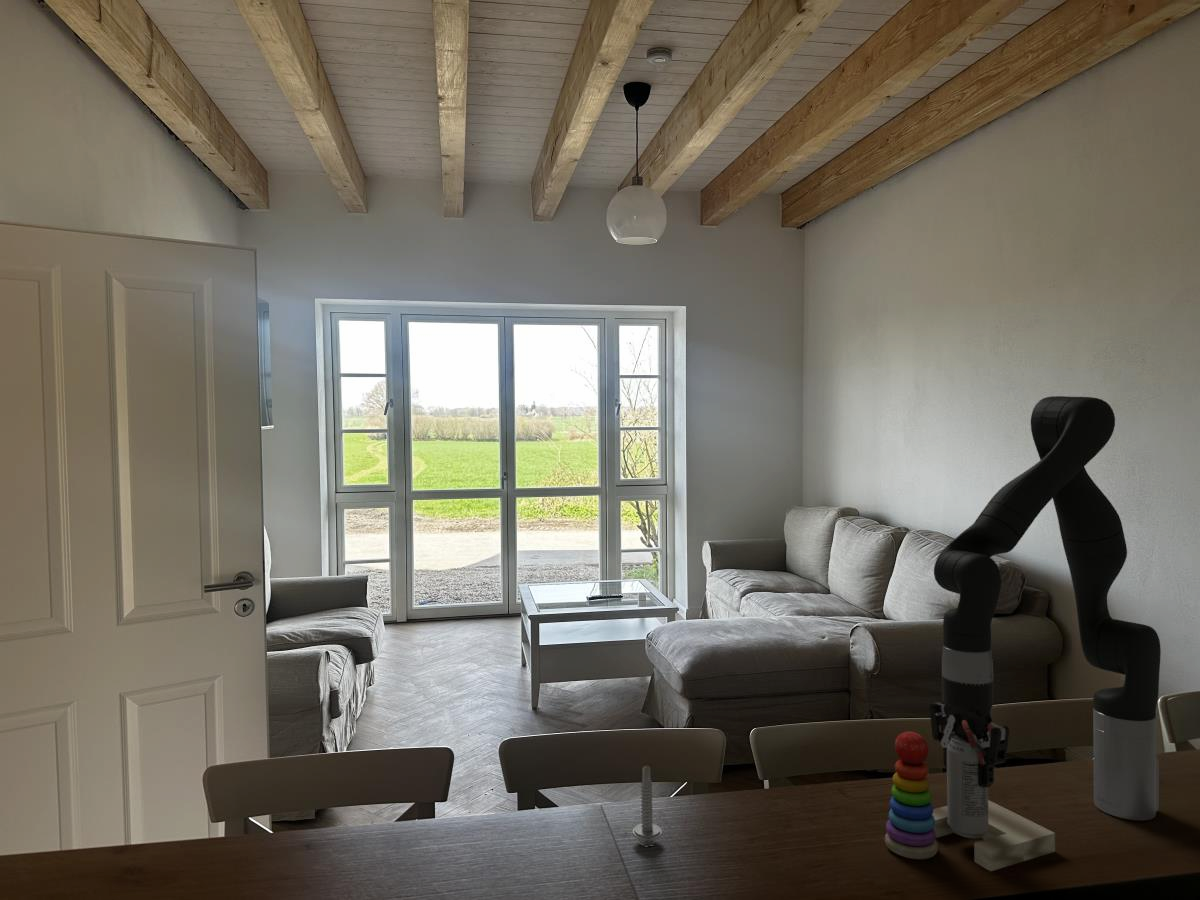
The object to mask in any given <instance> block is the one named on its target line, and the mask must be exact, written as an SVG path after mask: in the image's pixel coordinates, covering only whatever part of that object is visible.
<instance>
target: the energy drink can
mask: <svg viewBox="0 0 1200 900" xmlns="http://www.w3.org/2000/svg"><path fill="white" fill-rule="evenodd" d="M977 741H978V742H979V743H983V738H982V739H980V740H977ZM983 751H984V754H985V756H987V755H986V752H985V750H984V748H983ZM978 763H979V760H978V758H977V755H976V752H975V750H973V749H972V748H971V745H970V742H969V740H967V739H965V738H964V737H960V736H957V735H951V740H950V742H949V743H948V745H947V770H946V788H947V789H946V795H947V796H946V799H947V803H946V804H947V805H946V806H947V818H948V824H949V825H950V826H951V829H952V831H953V832H954V833H953V834H956V835H958V836H961V837H963V838H967V839H982V838H981V837H983V836H984V835H985V832H987V831H988V829H989V824H988V800H989V787H986V788H982V787H980V786H979V785H978Z"/></svg>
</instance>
